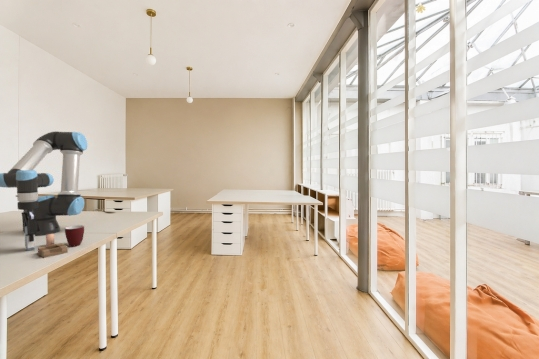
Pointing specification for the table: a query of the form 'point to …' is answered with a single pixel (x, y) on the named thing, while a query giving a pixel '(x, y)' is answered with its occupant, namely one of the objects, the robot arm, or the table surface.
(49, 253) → the socket block
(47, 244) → the short peg
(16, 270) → the table surface
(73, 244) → the mug
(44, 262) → the table surface
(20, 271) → the table surface
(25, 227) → the long peg
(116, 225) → the table surface
